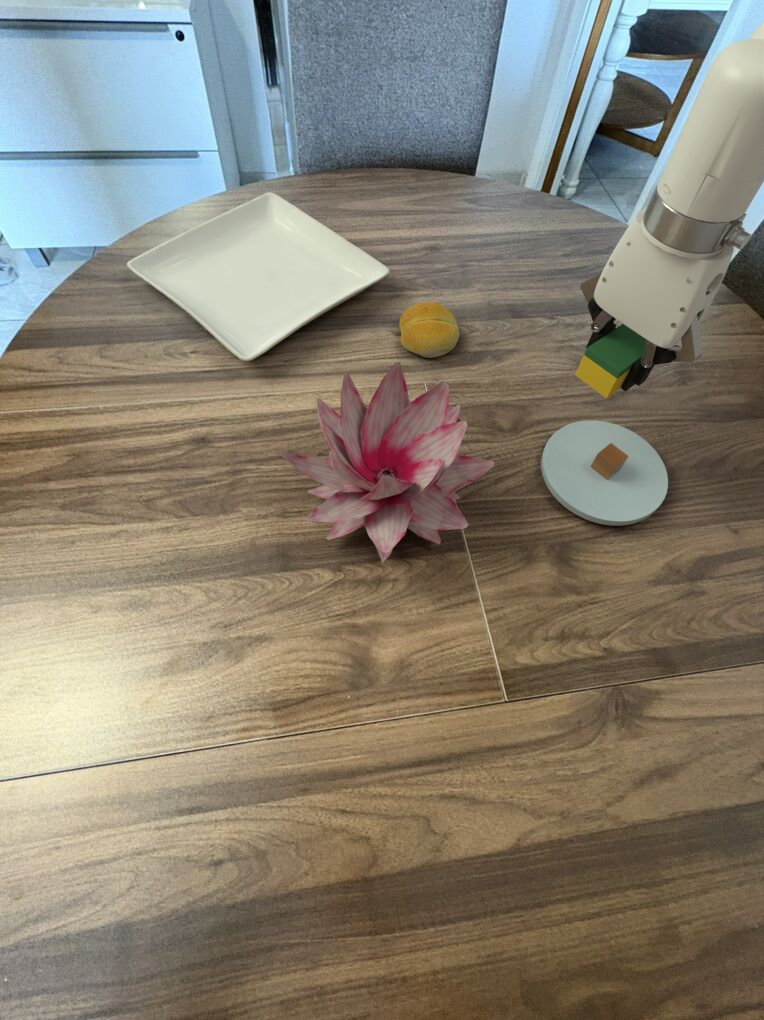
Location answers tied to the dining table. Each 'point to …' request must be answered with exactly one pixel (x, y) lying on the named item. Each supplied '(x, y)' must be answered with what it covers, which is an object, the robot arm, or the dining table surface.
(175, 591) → the dining table surface
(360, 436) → the decorative flower
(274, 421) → the dining table surface
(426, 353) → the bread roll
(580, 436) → the plate
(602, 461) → the small brown block
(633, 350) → the sponge
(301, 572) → the dining table surface
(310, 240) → the square plate
